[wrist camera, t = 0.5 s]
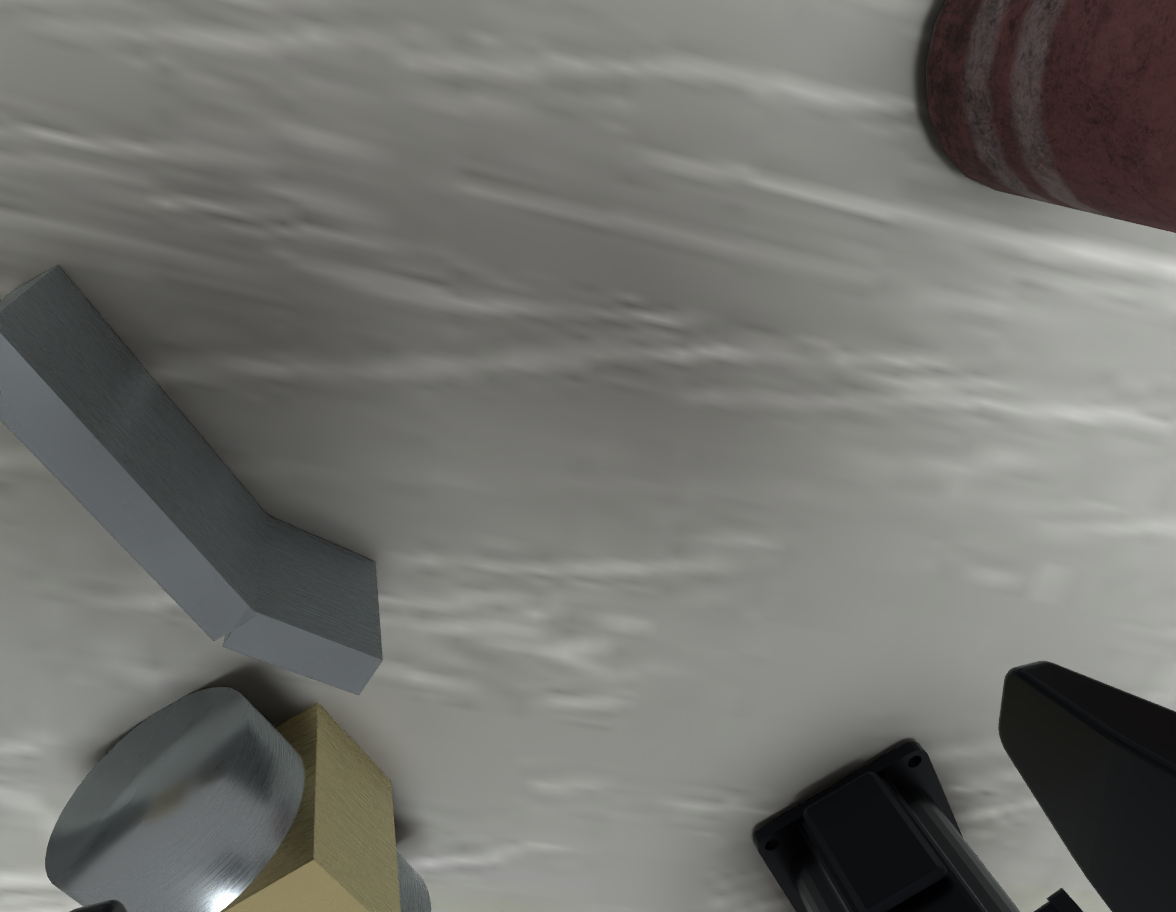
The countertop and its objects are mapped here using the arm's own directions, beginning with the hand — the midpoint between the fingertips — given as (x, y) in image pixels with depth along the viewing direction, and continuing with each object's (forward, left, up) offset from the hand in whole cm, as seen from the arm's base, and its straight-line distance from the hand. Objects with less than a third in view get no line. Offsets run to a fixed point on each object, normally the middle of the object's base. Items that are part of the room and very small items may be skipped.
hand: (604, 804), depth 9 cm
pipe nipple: (-8, +11, -14) cm, 19 cm away
